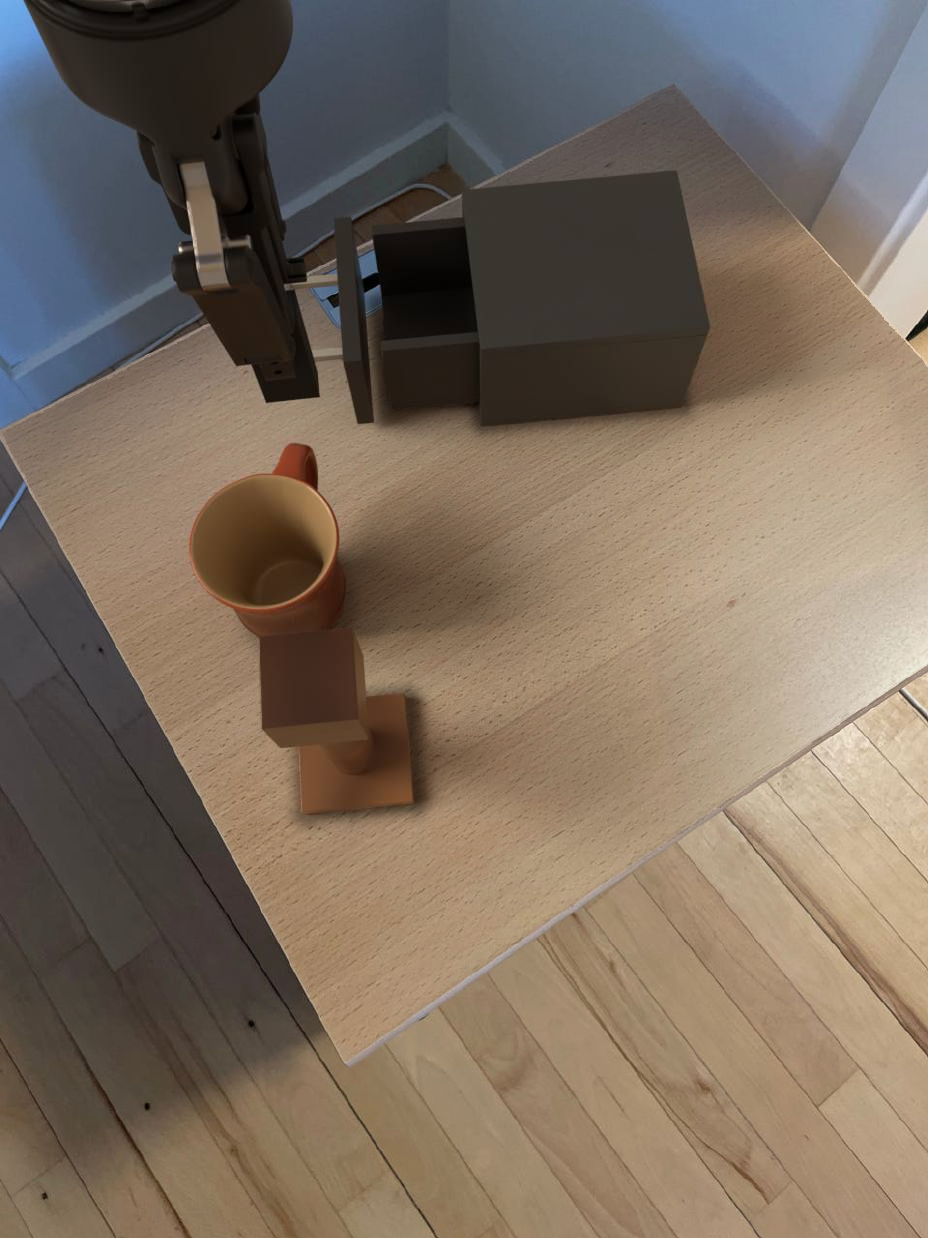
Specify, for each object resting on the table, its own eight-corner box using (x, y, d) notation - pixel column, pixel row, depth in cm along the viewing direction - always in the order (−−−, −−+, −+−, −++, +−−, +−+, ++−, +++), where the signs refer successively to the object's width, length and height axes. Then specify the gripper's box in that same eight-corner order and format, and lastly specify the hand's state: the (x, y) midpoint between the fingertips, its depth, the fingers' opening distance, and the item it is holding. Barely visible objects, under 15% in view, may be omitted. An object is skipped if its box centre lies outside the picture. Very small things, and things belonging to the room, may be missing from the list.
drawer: (289, 431, 70) (266, 369, 63) (283, 297, 74) (261, 224, 66) (545, 406, 70) (552, 342, 63) (526, 275, 74) (531, 199, 67)
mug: (342, 674, 65) (317, 624, 55) (215, 649, 66) (169, 595, 56) (383, 512, 69) (367, 439, 59) (263, 490, 70) (228, 414, 60)
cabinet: (481, 426, 71) (480, 348, 62) (464, 282, 75) (461, 189, 66) (681, 407, 71) (710, 327, 62) (653, 264, 75) (677, 169, 66)
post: (303, 814, 62) (255, 775, 49) (299, 707, 64) (251, 642, 51) (414, 803, 62) (395, 761, 49) (405, 696, 65) (385, 629, 51)
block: (279, 748, 49) (260, 728, 45) (276, 663, 51) (257, 636, 47) (369, 739, 49) (358, 719, 45) (363, 654, 51) (352, 626, 47)
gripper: (284, 85, 25) (377, 494, 48) (259, -246, 30) (355, 272, 52) (-9, 116, 25) (222, 512, 47) (8, -221, 29) (213, 288, 52)
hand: (292, 387), depth 50 cm, fingers closed
